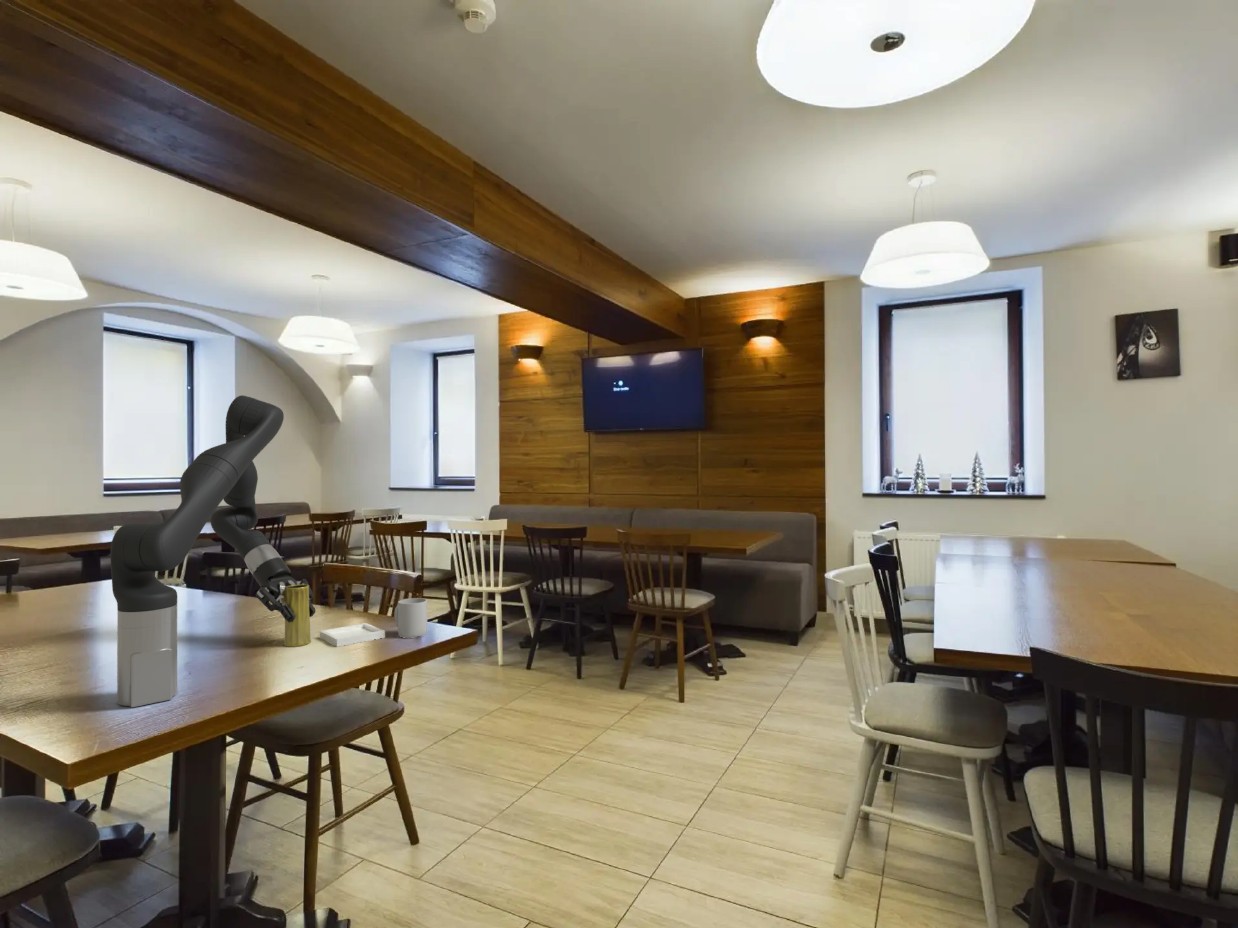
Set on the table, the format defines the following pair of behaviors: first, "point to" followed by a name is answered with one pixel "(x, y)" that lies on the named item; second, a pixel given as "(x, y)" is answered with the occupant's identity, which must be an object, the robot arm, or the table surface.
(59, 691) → the table surface
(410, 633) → the cup
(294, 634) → the vase
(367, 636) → the dish
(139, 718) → the table surface
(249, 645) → the table surface
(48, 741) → the table surface
